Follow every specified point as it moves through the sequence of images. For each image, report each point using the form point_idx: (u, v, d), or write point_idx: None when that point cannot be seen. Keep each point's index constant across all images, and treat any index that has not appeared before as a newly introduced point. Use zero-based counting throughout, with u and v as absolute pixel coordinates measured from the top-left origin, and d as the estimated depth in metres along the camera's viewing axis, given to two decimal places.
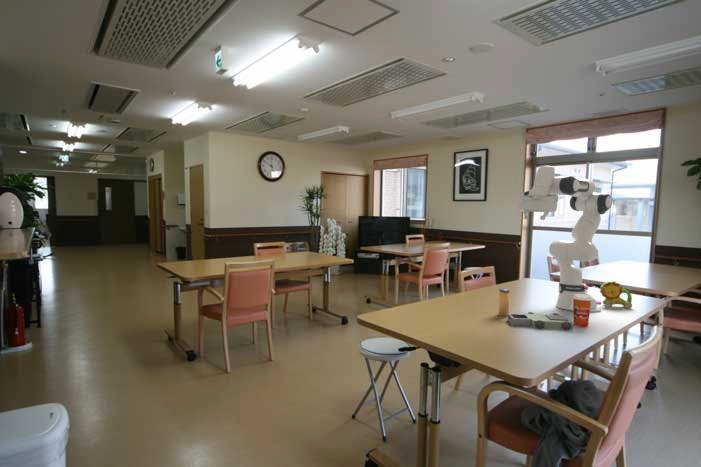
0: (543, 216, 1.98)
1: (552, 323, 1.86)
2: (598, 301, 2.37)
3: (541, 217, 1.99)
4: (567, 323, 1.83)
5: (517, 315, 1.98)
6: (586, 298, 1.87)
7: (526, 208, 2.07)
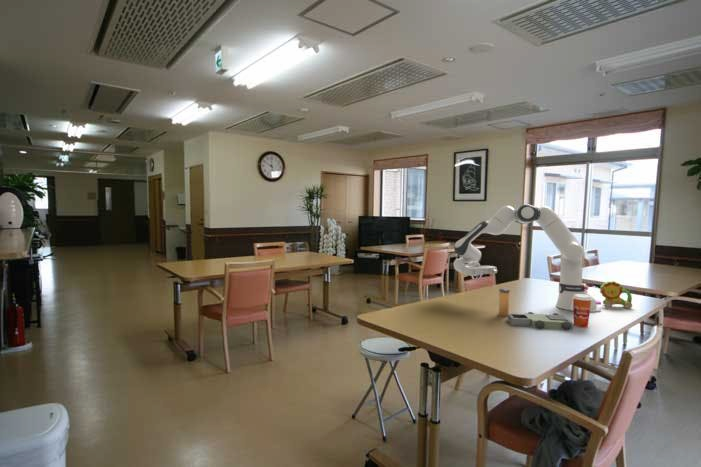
0: (495, 270, 2.22)
1: (552, 323, 1.86)
2: (598, 301, 2.37)
3: (494, 270, 2.21)
4: (567, 323, 1.83)
5: (517, 315, 1.98)
6: (586, 298, 1.87)
7: (476, 268, 2.22)
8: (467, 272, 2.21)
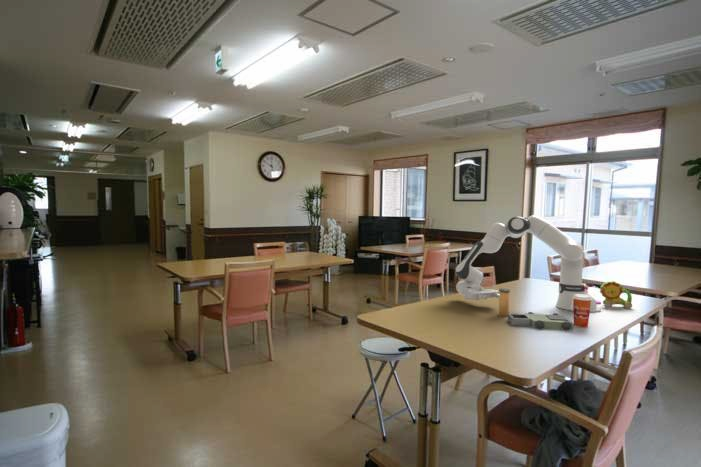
0: (498, 294, 2.19)
1: (552, 323, 1.86)
2: (598, 301, 2.37)
3: (498, 294, 2.19)
4: (567, 323, 1.83)
5: (517, 315, 1.98)
6: (586, 298, 1.87)
7: (479, 292, 2.19)
8: (470, 297, 2.19)
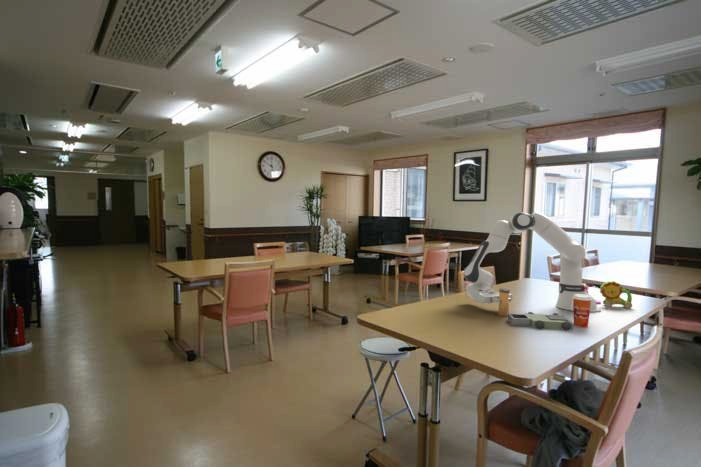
0: (509, 298, 2.10)
1: (552, 323, 1.86)
2: (598, 301, 2.37)
3: None
4: (567, 323, 1.83)
5: (517, 315, 1.98)
6: (586, 298, 1.87)
7: (491, 296, 2.11)
8: (482, 300, 2.10)
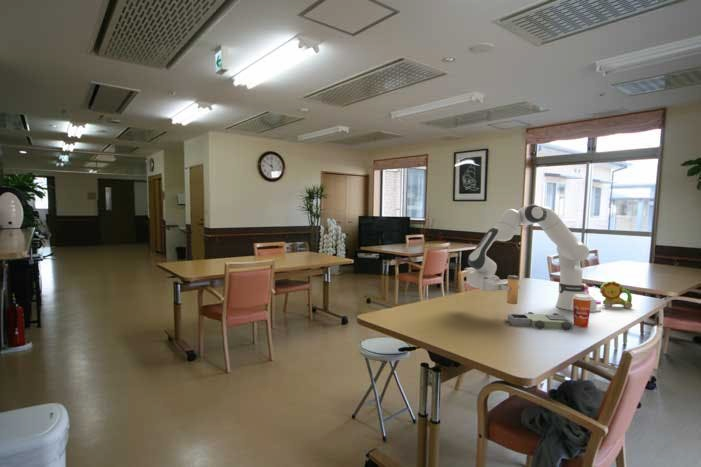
0: None
1: (552, 323, 1.86)
2: (598, 301, 2.37)
3: None
4: (567, 323, 1.83)
5: (517, 315, 1.98)
6: (586, 298, 1.87)
7: (499, 283, 2.00)
8: (490, 288, 1.98)
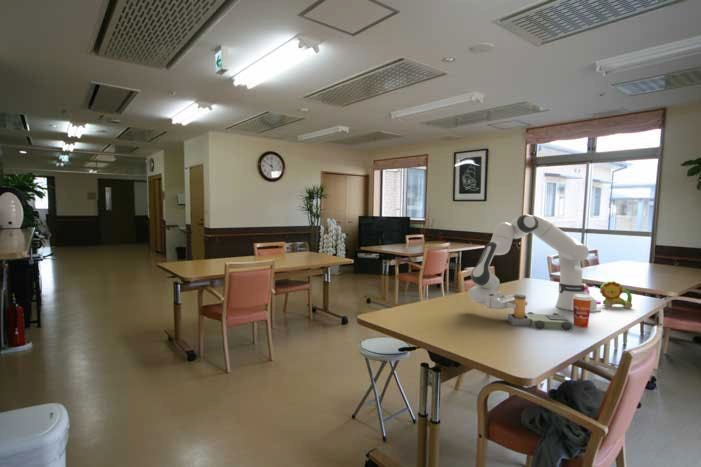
0: None
1: (552, 323, 1.86)
2: (597, 301, 2.37)
3: (525, 301, 1.96)
4: (567, 323, 1.83)
5: None
6: (586, 298, 1.87)
7: (506, 300, 1.95)
8: (498, 306, 1.92)
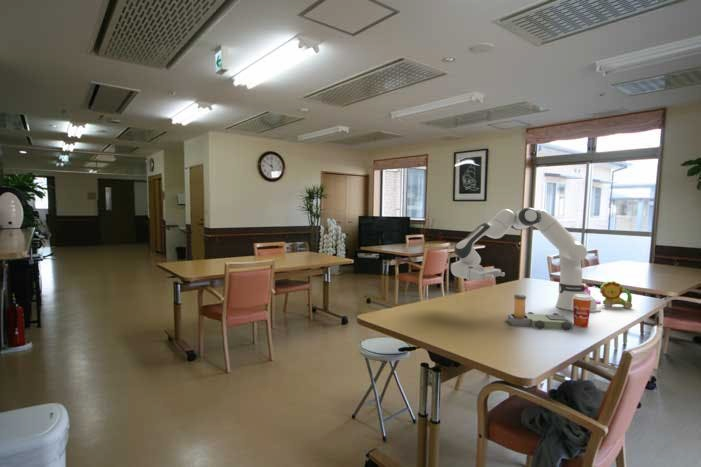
0: None
1: (552, 323, 1.86)
2: (597, 301, 2.37)
3: None
4: (567, 323, 1.83)
5: None
6: (586, 298, 1.87)
7: (484, 272, 2.04)
8: (476, 277, 2.02)
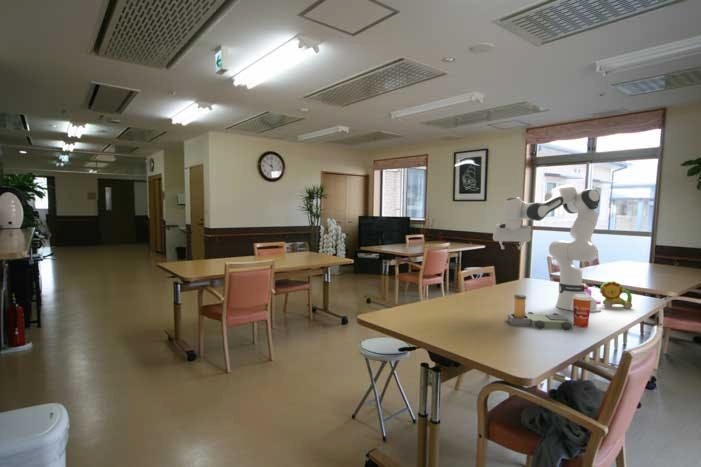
0: (521, 247, 2.21)
1: (552, 323, 1.86)
2: (597, 301, 2.37)
3: (520, 248, 2.21)
4: (567, 323, 1.83)
5: None
6: (586, 298, 1.87)
7: (503, 240, 2.22)
8: (493, 237, 2.25)
